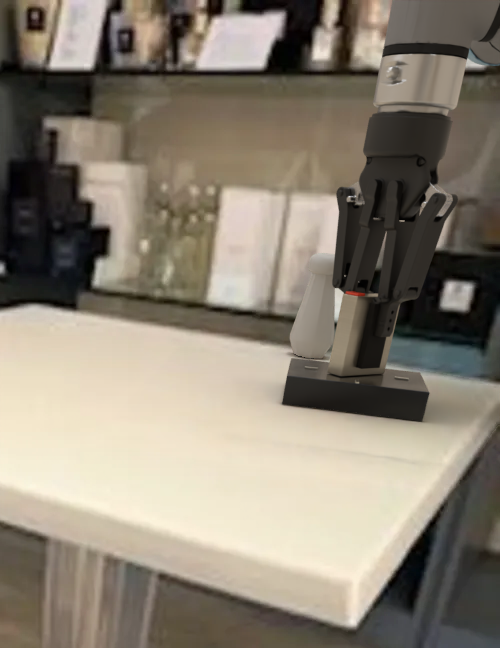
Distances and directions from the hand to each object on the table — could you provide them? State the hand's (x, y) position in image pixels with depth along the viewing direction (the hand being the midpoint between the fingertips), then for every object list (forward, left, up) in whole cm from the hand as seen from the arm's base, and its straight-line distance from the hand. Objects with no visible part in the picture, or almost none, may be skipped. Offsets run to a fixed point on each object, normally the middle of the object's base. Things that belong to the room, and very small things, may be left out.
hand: (358, 364), depth 93 cm
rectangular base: (0, 0, -4) cm, 4 cm away
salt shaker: (+5, -27, -4) cm, 28 cm away
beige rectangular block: (0, 0, -1) cm, 1 cm away
